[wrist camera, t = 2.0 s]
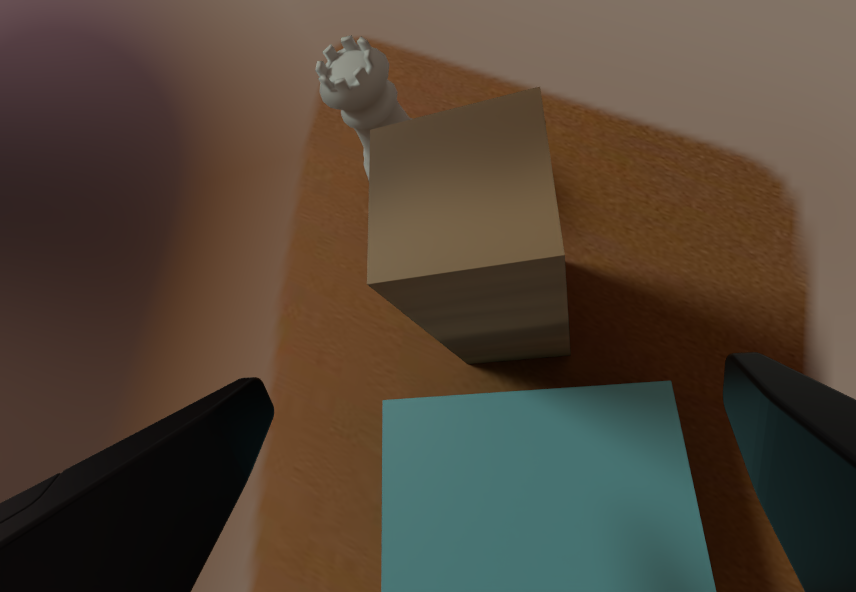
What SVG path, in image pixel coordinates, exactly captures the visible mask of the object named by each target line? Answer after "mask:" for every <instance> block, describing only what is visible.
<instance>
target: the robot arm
mask: <svg viewBox="0 0 856 592" xmlns="http://www.w3.org/2000/svg"><path fill="white" fill-rule="evenodd" d="M723 402H724V406H725V410H726V413H727V415H728V418H729V421H730V424H731V426H732V429H733V432H734V435H735V437H736V440H737V443H738V446H739V448H740V451H741V454H742V457H743V459H744V462H745V465H746V468H747V470H748V473H749V476H750V479H751V481H752V484H753V487H754V489H755V492H756V494H757V496H758V499H759V501H760V503H761V505H762V507H763V509H764V511H765V513H766V515H767V517H768V519H769V521H770V523H771V525H772V527H773V529H774V531H775V533H776V535H777V537H778V539H779V541H780V543H781V545H782V547H783V549H784V551H785V553H786V555H787V557H788V559H789V561H790V563H791V565H792V567H793V569H794V571H795V573H796V575H797V577H798V579H799V581H800V583H801V585H802V587H803V588H804V590H805V592H856V400H855V399H853V398H851V397H849V396H847V395H844V394H843V393H841V392H839V391H837V390H835V389H832V388H830V387H828V386H826V385H824V384H822V383H820V382H818V381H816V380H814V379H812V378H810V377H808V376H806V375H804V374H802V373H800V372H797V371H795V370H793V369H791V368H789V367H787V366H785V365H783V364H781V363H779V362H777V361H775V360H773V359H771V358H769V357H767V356H765V355H762V354H760V353H757V352H749V353H732V354H729V355H728V356H727V358H726V361H725V372H724V385H723ZM273 417H274V406H273V404H272V401H271V399H270V397H269V395H268V393H267V390H266V388H265V386H264V384H263V382H262V381H261V380H260V379H259V378H256V377H252V378H241V379H238V380H236V381H234V382H232V383H230V384H228V385H227V386H225V387H223V388H221V389H220V390H217V391H215V392H213V393H211V394H209V395H207V396H206V397H204V398H202V399H200V400H198V401H196V402H194V403H192V404H190V405H188V406H186V407H184V408H183V409H181V410H179V411H177V412H175V413H173V414H171V415H169V416H167V417H165V418H164V419H161V420H160V421H158V422H156V423H154V424H152V425H150V426H148V427H147V428H144V429H142V430H140V431H139V432H137V433H135V434H133V435H131V436H129V437H127V438H125V439H123V440H121V441H119V442H118V443H116V444H114V445H112V446H110V447H108V448H106V449H104V450H102V451H100V452H98V453H96V454H94V455H92V456H91V457H89V458H87V459H85V460H83V461H81V462H79V463H77V464H75V465H73V466H71V467H70V468H68V469H66V470H64V471H63V472H62V473H58V474H56V475H54V476H52V477H50V478H48V479H46V480H44V481H43V482H41V483H39V484H37V485H35V486H33V487H31V488H29V489H27V490H25V491H23V492H21V493H19V494H17V495H15V496H13V497H11V498H9V499H8V500H5V501H4V502H2V503H0V592H191V590H192V588H193V586H194V584H195V582H196V580H197V578H198V577H199V574H200V572H201V571H202V569H203V567H204V565H205V563H206V561H207V559H208V557H209V555H210V553H211V551H212V549H213V547H214V545H215V543H216V542H217V540H218V538H219V536H220V534H221V532H222V530H223V528H224V526H225V524H226V522H227V520H228V518H229V516H230V514H231V512H232V510H233V508H234V506H235V505H236V503H237V500H238V499H239V497H240V495H241V493H242V491H243V489H244V487H245V485H246V483H247V481H248V478H249V476H250V474H251V471H252V469H253V467H254V464H255V462H256V459H257V457H258V454H259V452H260V449H261V447H262V444H263V442H264V440H265V437H266V435H267V432H268V430H269V427H270V425H271V422H272V420H273Z"/></svg>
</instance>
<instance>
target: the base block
mask: <svg viewBox="0 0 856 592" xmlns="http://www.w3.org/2000/svg"><path fill="white" fill-rule="evenodd" d="M382 592H716V588H715V583H714V579H713V574H712V569H711V565H710V560H709V555H708V551H707V546H706V541H705V537H704V532H703V527H702V523H701V518H700V513H699V509H698V504H697V499H696V495H695V490H694V485H693V481H692V476H691V471H690V467H689V462H688V457H687V453H686V448H685V443H684V439H683V434H682V429H681V425H680V420H679V416H678V411H677V406H676V402H675V397H674V392H673V388H672V383H671V381H658V382H643V383H629V384H614V385H599V386H585V387H570V388H555V389H541V390H526V391H512V392H497V393H482V394H468V395H453V396H438V397H424V398H409V399H394V400H383V436H382Z"/></svg>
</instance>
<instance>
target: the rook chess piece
mask: <svg viewBox="0 0 856 592" xmlns="http://www.w3.org/2000/svg"><path fill="white" fill-rule="evenodd" d="M341 43H342V45H343V47H344V48H343V49H342V50H340V51H338V52H336V51H335V49H334V47H333V46H332V45H331V44H330V45H329V46H328V47H327V48H326V49H325V50H324V51H323V54H324V55H325V57H326V58H327V60H328V62H327V63H326V65H325V64H324V62H323V61H317V65H316V72H317V74H318V75H319V78H318V79H319V81H320V82H321V85H320V94H321V97H322V100H323V102H325V103H326V104H327V105H328V106H329V107H330V108H335V109H340V110H341V115H342V118H343V121H344V122H345V123H346V124H347V125H349V126H350V127H353V128H354V129H355V131H356V132H357V134H358V136H359V138H360V140H361V142H362V144H363V146H364V154H363V155H364V167H365V171H366V174H367V176H368V179H369V162H370V130H371V129H375V128H379V127H383V126H387V125H391V124H395V123H399V122H403V121H407V120H411V119H412V118H409V116H408V115H407V114H406V112H405V111H404V110H403V108H402V107H401V106H400V104H399V103H398V101H397V90H396V88H395V86H394V84H393V83H391V82H390V81H389V80H387V78H388V71H389V63H388V60H387V58H386V56H385V54H383V53H382V52H381V51H379V50H378V49H376V48H373V47H371V46H370V44H369V42H368V41H367V40H366V39H364V38H363V37H360V38H359V40H358V41H357V43H358V45H357V44H356V43H355V41H354V39H353V37H352V35H351V36H347V37H343V38H341Z"/></svg>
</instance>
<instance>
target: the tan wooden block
mask: <svg viewBox="0 0 856 592" xmlns="http://www.w3.org/2000/svg"><path fill="white" fill-rule="evenodd" d="M367 285H369V286H370V287H371V288H372V289H374V290H375V291H376V292H377V293H379V294H380V295H381V296H382V297H384V298H385V299H386V300H387V301H389V302H390V303H391V304H393V305H394V306H395V307H396V308H398V309H399V310H400V311H401V312H403V313H404V314H405V315H406V316H408V317H409V318H410V319H411V320H413V321H414V322H415V323H416V324H418V325H419V326H420V327H421V328H423V329H424V330H425V331H427V332H428V333H429V334H430V335H432V336H433V337H434V338H435V339H437V340H438V341H439V342H440V343H442V344H443V345H444V346H445V347H447V348H448V349H449V350H450V351H452V352H453V353H454V354H456V355H457V356H458V357H459V358H461V359H462V360H463V361H464V362H466V363H467V364H477V363H489V362H500V361H511V360H523V359H534V358H546V357H557V356H569V355H571V353H570V336H569V319H568V303H567V286H566V269H565V254H564V247H563V241H562V234H561V227H560V220H559V213H558V207H557V200H556V193H555V186H554V179H553V173H552V166H551V159H550V152H549V145H548V139H547V132H546V125H545V118H544V111H543V105H542V98H541V91H540V87H537V88H533V89H529V90H525V91H521V92H517V93H513V94H509V95H505V96H501V97H497V98H493V99H489V100H485V101H482V102H478V103H474V104H470V105H466V106H462V107H458V108H454V109H450V110H446V111H442V112H438V113H434V114H430V115H426V116H422V117H418V118H415V119H411V120H407V121H403V122H399V123H395V124H391V125H387V126H383V127H379V128H375V129H371V130H370V162H369V213H368V264H367Z"/></svg>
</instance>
